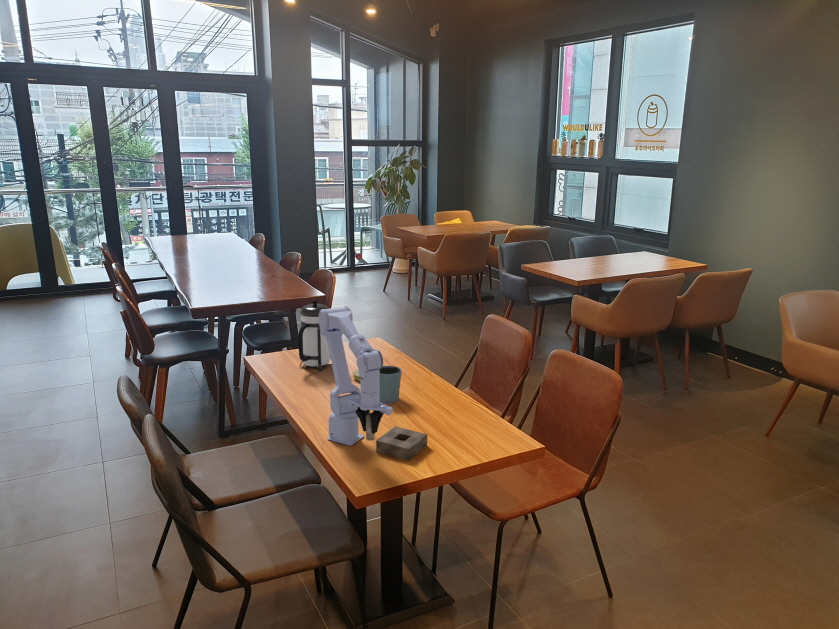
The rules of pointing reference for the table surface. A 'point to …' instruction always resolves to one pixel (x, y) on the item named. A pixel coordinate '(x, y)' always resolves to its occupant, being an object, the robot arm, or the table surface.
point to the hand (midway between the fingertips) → (370, 431)
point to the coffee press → (312, 337)
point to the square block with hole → (401, 443)
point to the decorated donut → (356, 375)
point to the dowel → (368, 428)
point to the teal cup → (389, 384)
